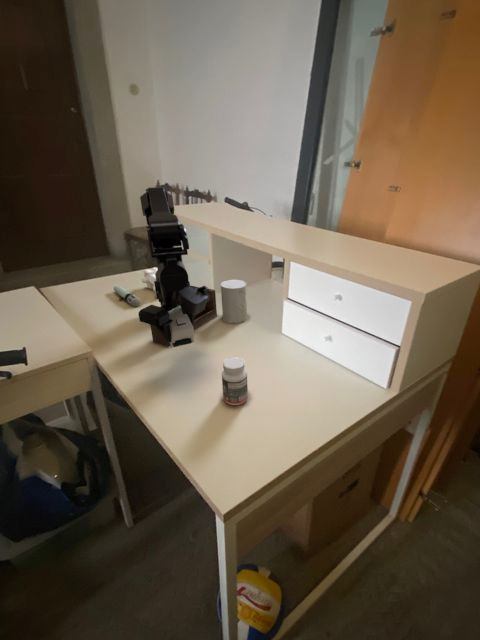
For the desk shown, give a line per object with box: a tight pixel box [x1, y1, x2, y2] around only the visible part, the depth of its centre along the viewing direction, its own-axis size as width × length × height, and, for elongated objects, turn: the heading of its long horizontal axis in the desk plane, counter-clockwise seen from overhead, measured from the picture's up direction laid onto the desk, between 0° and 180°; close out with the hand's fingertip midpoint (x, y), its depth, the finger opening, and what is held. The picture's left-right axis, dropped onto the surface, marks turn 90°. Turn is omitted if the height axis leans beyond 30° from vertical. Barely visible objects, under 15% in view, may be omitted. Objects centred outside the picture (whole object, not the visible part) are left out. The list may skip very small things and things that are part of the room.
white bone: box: [141, 267, 158, 293], centre depth 137 cm, size 15×9×8 cm, turn 37°
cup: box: [220, 279, 248, 324], centre depth 116 cm, size 8×8×12 cm
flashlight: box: [113, 285, 141, 308], centre depth 132 cm, size 3×4×20 cm
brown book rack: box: [149, 288, 218, 348], centre depth 110 cm, size 6×24×10 cm, turn 150°
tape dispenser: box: [169, 314, 195, 348], centre depth 89 cm, size 6×7×10 cm
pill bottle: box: [221, 356, 249, 406], centre depth 79 cm, size 6×6×10 cm
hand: (179, 335), depth 90 cm, fingers closed on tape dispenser, 7 cm apart
